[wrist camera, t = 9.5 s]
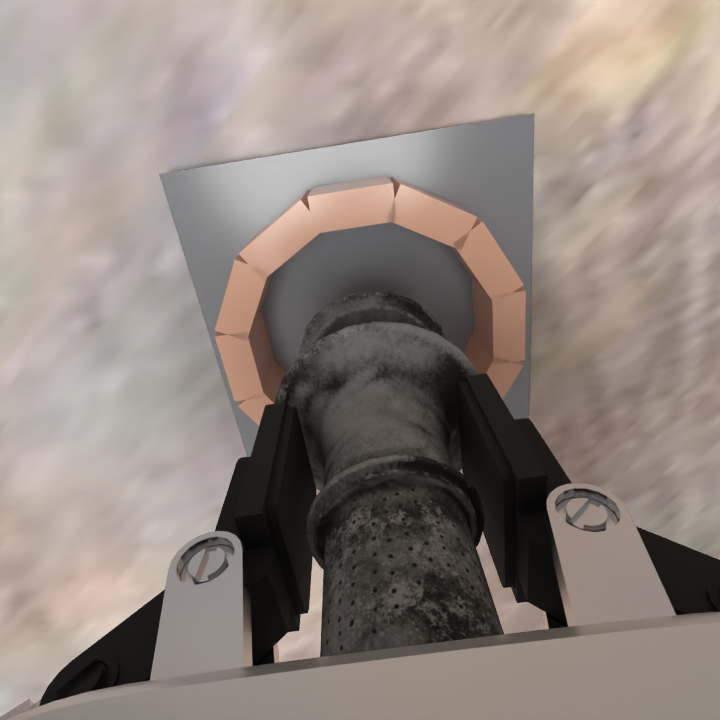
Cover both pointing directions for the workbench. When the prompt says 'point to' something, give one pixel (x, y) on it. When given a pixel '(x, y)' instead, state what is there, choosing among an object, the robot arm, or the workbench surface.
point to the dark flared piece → (388, 477)
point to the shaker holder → (364, 248)
